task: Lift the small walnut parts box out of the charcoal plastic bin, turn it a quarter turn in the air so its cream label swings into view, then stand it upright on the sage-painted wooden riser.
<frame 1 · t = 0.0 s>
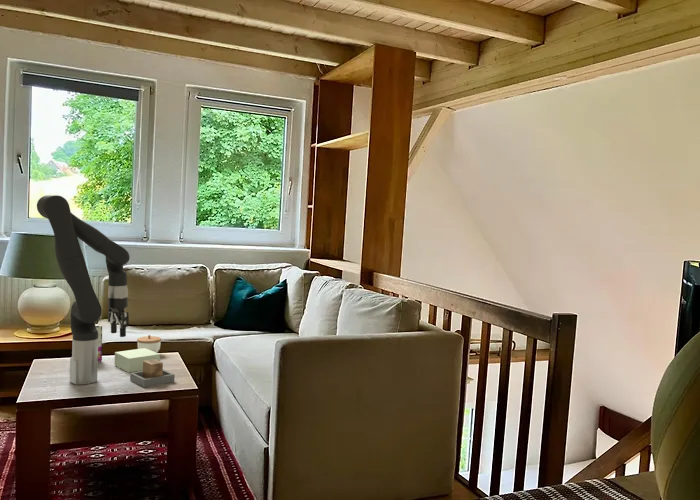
hand: (118, 334, 234), 17 cm above the table, tool pointing down, fingers open, 8 cm apart
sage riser: (137, 366, 251), on the table
lidded jar: (148, 355, 272), on the table
walnut parts box: (152, 371, 230), in the charcoal bin
candy bar box: (87, 362, 254), on the table
charcoal bin: (152, 381, 230), on the table
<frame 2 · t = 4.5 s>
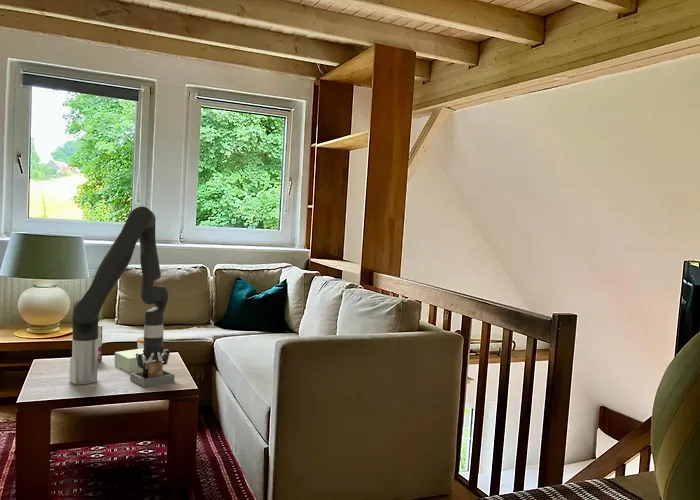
hand: (152, 376, 230), 2 cm above the table, tool pointing down, fingers closed on walnut parts box, 5 cm apart
walnut parts box: (152, 371, 230), in the charcoal bin, touching gripper
everything else where it was.
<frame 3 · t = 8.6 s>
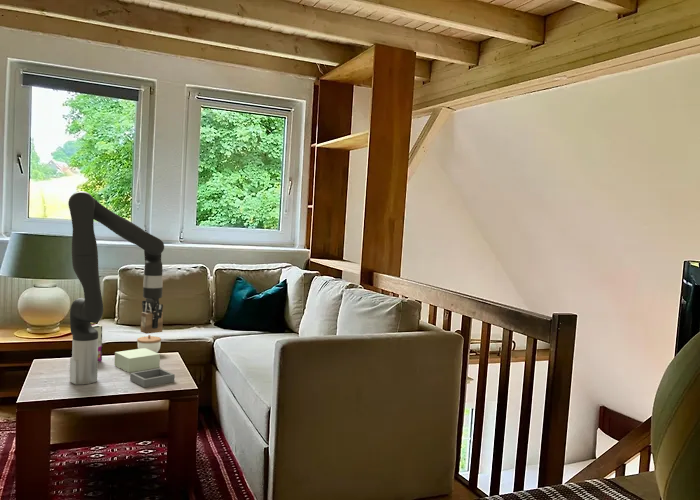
hand: (151, 327, 233), 21 cm above the table, tool pointing down, fingers closed on walnut parts box, 5 cm apart
walnut parts box: (151, 322, 233), point 23 cm above the table, touching gripper
everything else where it was.
when the fingers open (9 cm above the table, at t = 12.9 s): walnut parts box drops 1 cm, resting on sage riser.
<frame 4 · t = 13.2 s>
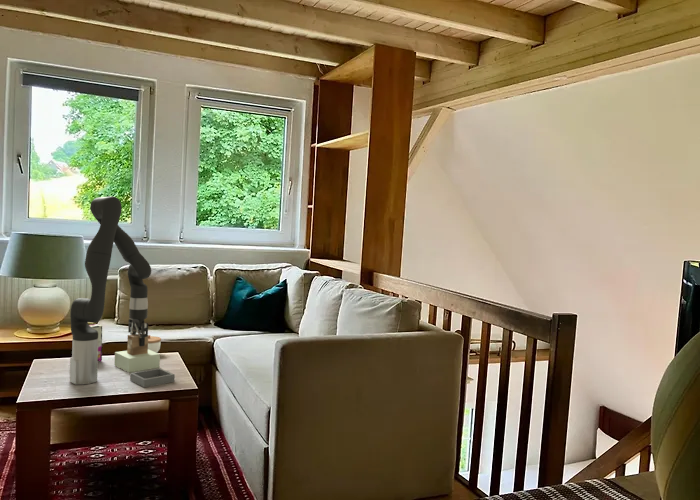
hand: (137, 344, 250), 10 cm above the table, tool pointing down, fingers open, 7 cm apart
walnut parts box: (137, 344, 250), on the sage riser, point 10 cm above the table
everything else where it was.
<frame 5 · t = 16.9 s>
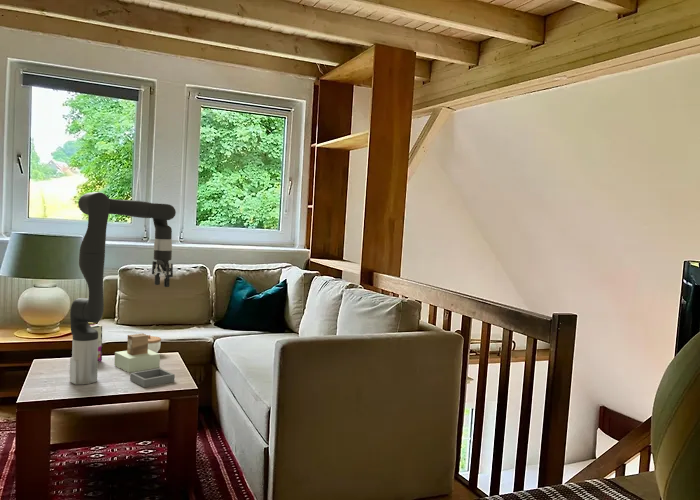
hand: (161, 285, 251), 36 cm above the table, tool pointing down, fingers open, 8 cm apart
nothing on the table moved.
at the end: walnut parts box inside the target area on the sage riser (0.0 cm from its centre), point 10.0 cm above the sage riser's base; walnut parts box tilted 0°; the gripper is holding nothing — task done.
